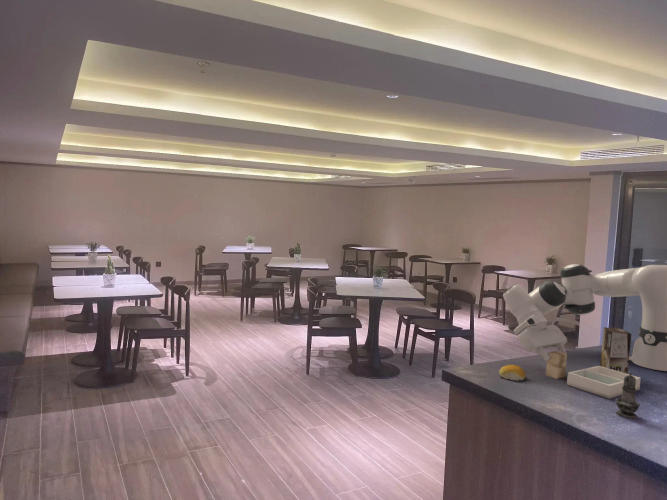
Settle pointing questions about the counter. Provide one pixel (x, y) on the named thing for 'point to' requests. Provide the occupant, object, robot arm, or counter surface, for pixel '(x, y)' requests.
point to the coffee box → (615, 349)
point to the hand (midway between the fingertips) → (556, 358)
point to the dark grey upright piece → (628, 399)
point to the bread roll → (512, 372)
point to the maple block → (556, 365)
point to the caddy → (600, 381)
